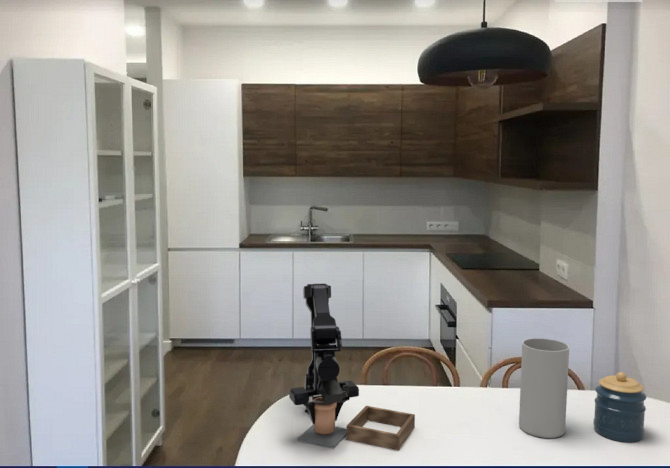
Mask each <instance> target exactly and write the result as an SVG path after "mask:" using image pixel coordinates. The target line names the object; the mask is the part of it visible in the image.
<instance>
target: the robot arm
mask: <svg viewBox="0 0 670 468" xmlns="http://www.w3.org/2000/svg"><path fill="white" fill-rule="evenodd" d="M302 291H303V292H302V294H303V299H304V300H305V306H306V307H307V309H308V311H309V312H310V330H309V331H310V344H311V345H310V346H311V361H310V363H309V365H308V366H307V368H306V369H307V370H306V371H307V372H306V373H305V375H304V386H299V387H292V388H291V389H290V391H289V392H288V395H289V396H288V397H289V400H291V402H292V403H293V405H295V406H301V405H303V406H304V407H306V408H305V409H304V412H305V413H308V416H309V417H310V421H311V423H312V425H313V424H315V412H314V406H315V403H314V402H313V399H315V398H318V397H323V400H324V402H325V403H326V404H331V403H337V407H336V408H335V422H336V421H337V420H338V417H339V414H340V411H341V410H342V407H343V405H344V403H346V402H347V401H350V399H352V398H358V397H359V396H360V389H359V386H358V385H357V384H355V383H354V382H353V381H352V380H344V381H338V376H339V374H340V370H341V369H340V366H339V363H338V360H337V358H336V352H341V348H342V347H343V342H342V341H343V340H342V331H341V330H340V327H339V326H337V322H336V319H335V318H334V317H333V316H332V315H331V313H330V312H331V311H330V305H329V299H331V298H332V285H328V284H327V283H307V284H306V285H305V286H303V289H302Z"/></svg>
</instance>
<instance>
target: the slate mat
mask: <svg viewBox="0 0 670 468" xmlns="http://www.w3.org/2000/svg"><path fill="white" fill-rule="evenodd" d="M346 429H347V428H345V427H340V426H337V425H335V431H334V432H332V433H329V434H319V433H316V432H315V431H314V424H313V423H312V424H311V426H309V427H308V428H307V429H306V430H305V431H304V432H303V433H302V434H300V435H299V436H298V437H297V441H300V442H305V443H308V444H313V445H317V446H322V447H326V448H331V449H335V448H336V447H337V446H338V445H339V444H340V443H341V442H342V440H344V438H345V437H346Z"/></svg>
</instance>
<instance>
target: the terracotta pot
mask: <svg viewBox="0 0 670 468" xmlns="http://www.w3.org/2000/svg"><path fill="white" fill-rule="evenodd" d="M313 402H314V403H315V406H314V412H315V424H314V431H315V432H316V433H319V434H329V433H332V432H334V431H335V426H336V421H335V408H336V407H337V403H331V404H326V403H325V402H324V400H323V397H318V398H315V399H313Z"/></svg>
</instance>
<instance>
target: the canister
mask: <svg viewBox="0 0 670 468" xmlns="http://www.w3.org/2000/svg"><path fill="white" fill-rule="evenodd" d="M644 389H645V388H644V386H643V384H641V383H639V382H638V381H637V380H636V379H635V378H631V377H627V374H626V373H625V372H622V371H619V372H617V373H616V374H615V375H613V374H612V375H606V376H605V377H602V378H600V379H599V380H598V385H597V386H595V389H594V390H595V392H596V397H595V398H594V415H593V416H594V417H593V428H594V430H595V432H596V433H597V434H599V435H600V436H602V437H604V438H607V439H610V440H614V441H618V442H625V443H634V442H638V441H641V440H642V439H643V437H644V435H645V416H646V415H645V414H646V413H645V412H646V410H647V409H646V406H645V400H646V399H647V394H646V393H645V392H644Z"/></svg>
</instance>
